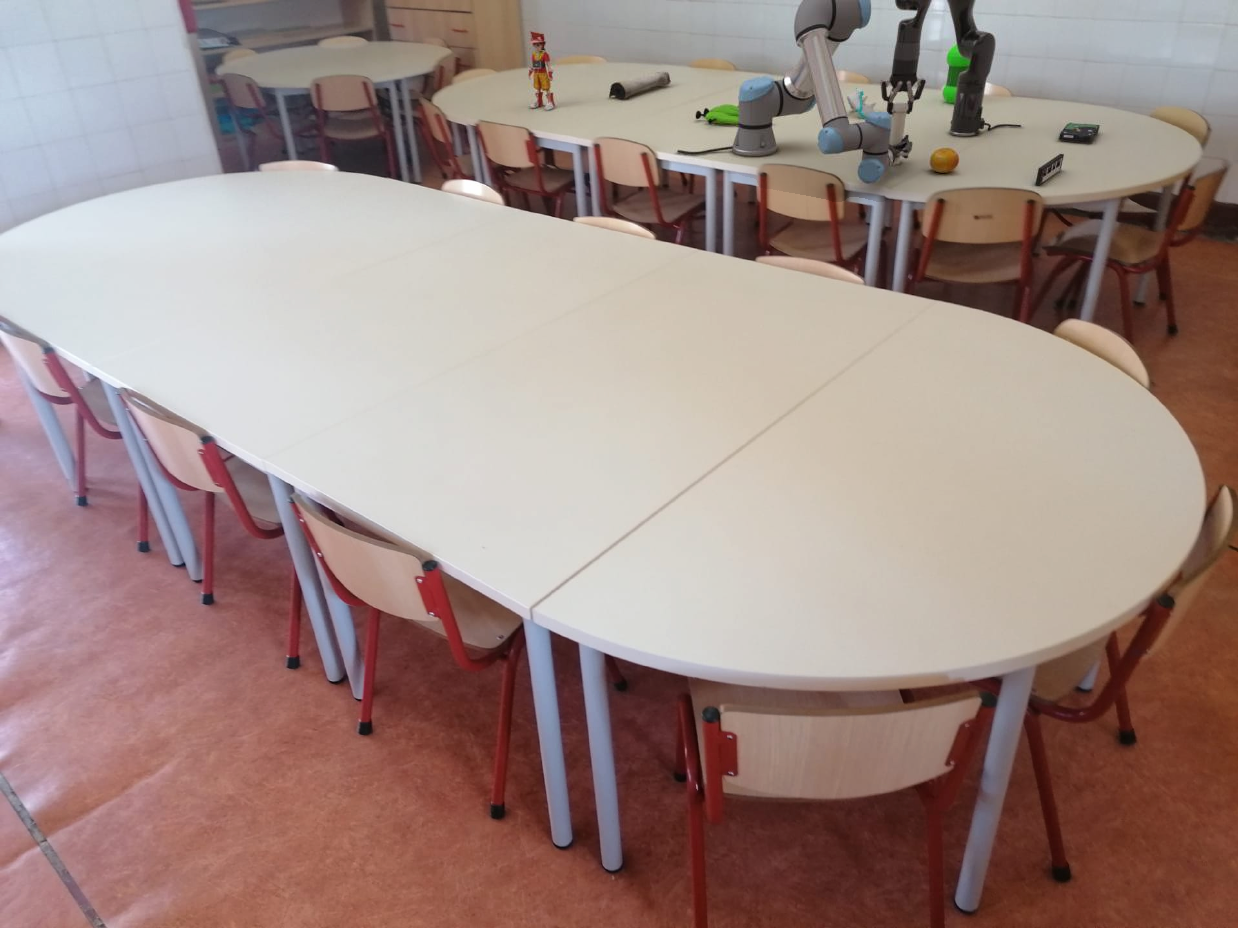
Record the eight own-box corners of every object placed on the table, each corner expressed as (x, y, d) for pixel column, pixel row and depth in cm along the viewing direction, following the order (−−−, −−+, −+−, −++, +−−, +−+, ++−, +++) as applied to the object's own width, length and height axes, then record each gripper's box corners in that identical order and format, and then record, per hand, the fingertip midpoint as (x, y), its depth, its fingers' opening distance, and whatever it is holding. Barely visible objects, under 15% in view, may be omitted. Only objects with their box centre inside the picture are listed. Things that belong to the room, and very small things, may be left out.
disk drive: (1091, 144, 300) (1098, 132, 310) (1093, 136, 299) (1100, 124, 309) (1057, 141, 305) (1066, 130, 315) (1059, 133, 303) (1067, 121, 313)
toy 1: (525, 109, 381) (517, 32, 364) (534, 104, 388) (527, 28, 371) (550, 110, 377) (543, 32, 360) (559, 105, 384) (553, 28, 367)
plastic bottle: (973, 101, 354) (984, 32, 339) (955, 106, 349) (966, 36, 335) (952, 97, 361) (962, 29, 346) (934, 102, 356) (944, 33, 342)
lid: (904, 107, 288) (905, 101, 287) (910, 111, 284) (911, 106, 283) (888, 108, 288) (889, 103, 287) (894, 112, 283) (895, 107, 282)
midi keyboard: (1039, 185, 269) (1043, 168, 266) (1035, 184, 270) (1038, 168, 267) (1060, 170, 279) (1064, 154, 277) (1056, 169, 280) (1060, 153, 277)
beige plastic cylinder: (891, 159, 298) (898, 105, 288) (902, 162, 295) (909, 107, 285) (882, 162, 296) (889, 107, 286) (893, 165, 293) (900, 110, 283)
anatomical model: (842, 87, 348) (867, 80, 347) (844, 114, 354) (869, 107, 353) (853, 96, 336) (879, 89, 335) (855, 124, 342) (881, 117, 341)
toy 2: (685, 123, 344) (756, 136, 332) (687, 109, 342) (758, 121, 329) (718, 112, 365) (786, 123, 352) (719, 98, 362) (788, 110, 350)
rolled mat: (651, 76, 408) (662, 61, 399) (662, 93, 408) (674, 79, 400) (605, 92, 391) (616, 77, 383) (617, 110, 391) (628, 95, 383)
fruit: (924, 163, 281) (941, 140, 278) (925, 165, 289) (941, 143, 286) (946, 178, 280) (963, 155, 277) (947, 180, 288) (963, 158, 285)
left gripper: (852, 168, 284) (871, 148, 301) (908, 173, 277) (924, 152, 294) (854, 143, 280) (873, 124, 297) (911, 148, 273) (927, 128, 290)
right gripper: (926, 53, 279) (918, 110, 289) (880, 55, 280) (873, 112, 290) (932, 58, 273) (924, 116, 283) (885, 60, 274) (878, 118, 284)
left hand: (898, 138), depth 296 cm, fingers closed on beige plastic cylinder, 4 cm apart
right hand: (898, 113), depth 286 cm, fingers closed on lid, 5 cm apart
